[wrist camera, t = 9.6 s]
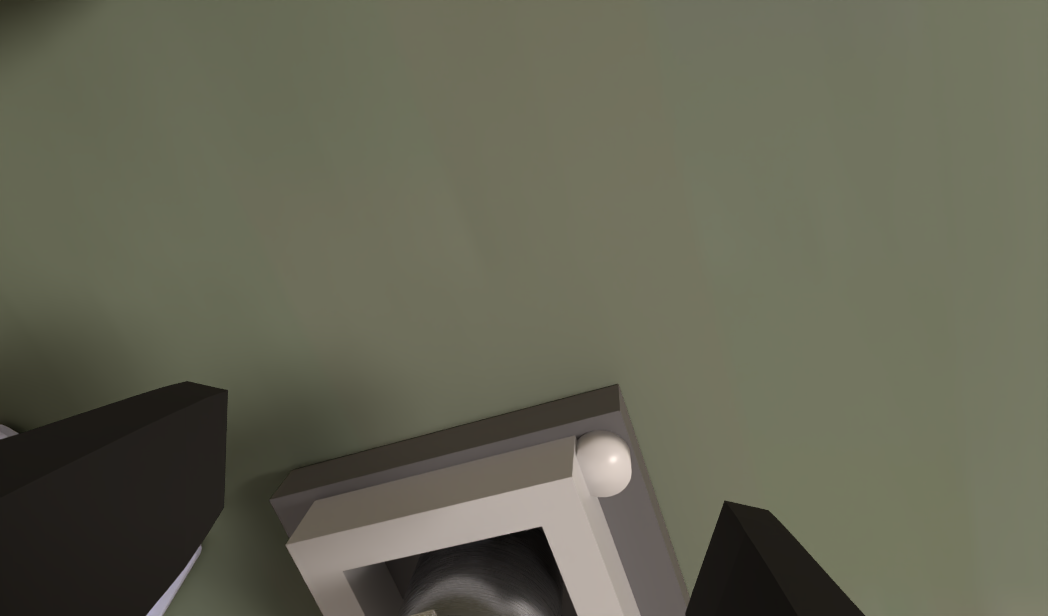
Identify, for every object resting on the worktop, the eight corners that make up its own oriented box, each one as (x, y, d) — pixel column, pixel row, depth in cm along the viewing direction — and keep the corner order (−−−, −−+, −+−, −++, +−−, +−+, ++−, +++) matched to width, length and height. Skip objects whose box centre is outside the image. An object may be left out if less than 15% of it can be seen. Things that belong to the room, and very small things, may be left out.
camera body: (397, 676, 24) (364, 774, 21) (291, 470, 22) (235, 543, 18) (697, 621, 22) (715, 720, 19) (618, 384, 20) (622, 449, 16)
